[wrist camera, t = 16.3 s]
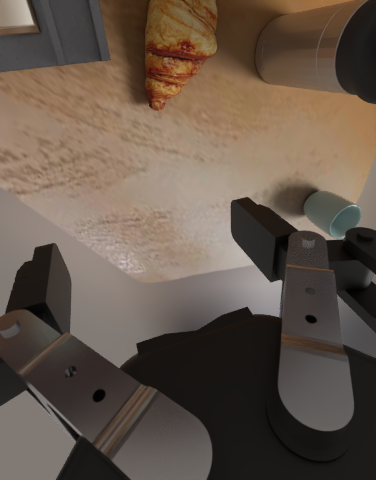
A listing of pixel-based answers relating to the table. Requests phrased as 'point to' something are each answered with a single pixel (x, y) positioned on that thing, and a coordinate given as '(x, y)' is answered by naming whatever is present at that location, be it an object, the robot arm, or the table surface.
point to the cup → (332, 213)
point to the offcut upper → (15, 14)
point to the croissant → (177, 45)
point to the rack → (57, 37)
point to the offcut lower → (22, 29)
